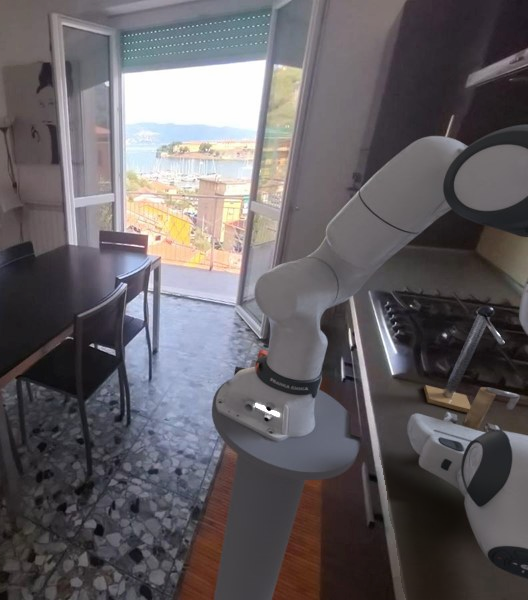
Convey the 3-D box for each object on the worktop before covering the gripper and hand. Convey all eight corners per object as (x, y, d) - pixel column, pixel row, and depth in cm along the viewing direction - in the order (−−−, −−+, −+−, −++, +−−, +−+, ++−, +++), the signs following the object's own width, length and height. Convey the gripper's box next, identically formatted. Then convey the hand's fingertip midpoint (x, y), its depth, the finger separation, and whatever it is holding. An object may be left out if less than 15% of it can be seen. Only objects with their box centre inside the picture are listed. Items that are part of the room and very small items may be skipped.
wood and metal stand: (433, 427, 79) (479, 327, 69) (423, 388, 91) (461, 298, 81) (481, 441, 76) (537, 337, 65) (464, 399, 88) (509, 305, 77)
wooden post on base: (439, 461, 71) (475, 391, 63) (435, 444, 75) (468, 376, 67) (483, 476, 68) (525, 403, 60) (476, 457, 72) (515, 387, 64)
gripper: (594, 490, 52) (554, 428, 62) (420, 436, 61) (410, 391, 72) (572, 518, 54) (537, 454, 65) (408, 462, 64) (401, 415, 75)
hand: (469, 421), depth 69 cm, fingers open, 5 cm apart
